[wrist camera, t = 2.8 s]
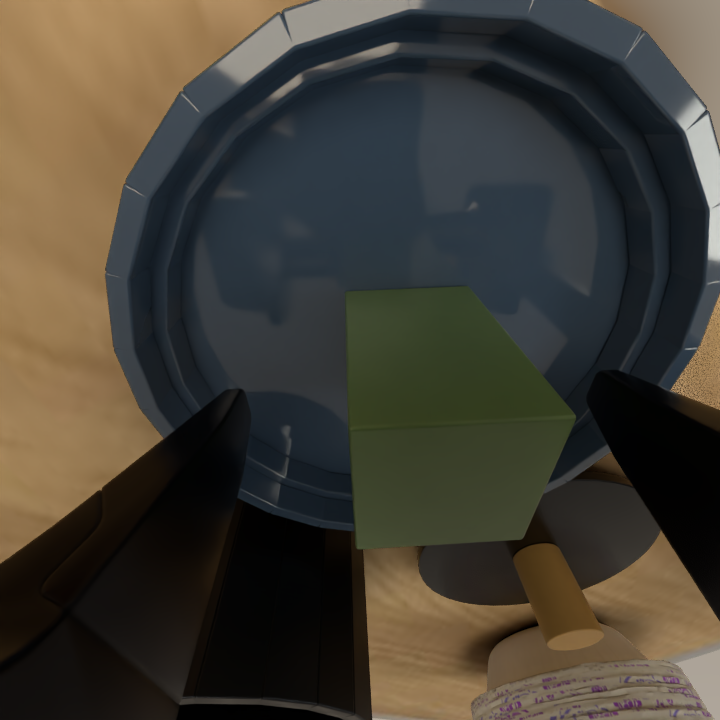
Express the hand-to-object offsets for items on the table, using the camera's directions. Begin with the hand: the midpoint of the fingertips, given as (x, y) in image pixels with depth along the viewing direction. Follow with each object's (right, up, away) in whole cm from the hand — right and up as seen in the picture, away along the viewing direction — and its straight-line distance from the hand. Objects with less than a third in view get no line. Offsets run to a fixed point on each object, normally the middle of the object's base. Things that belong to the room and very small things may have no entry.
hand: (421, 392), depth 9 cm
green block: (0, +1, +2) cm, 3 cm away
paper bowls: (+14, -22, +19) cm, 33 cm away
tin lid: (+7, -9, +9) cm, 15 cm away
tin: (-7, -9, +9) cm, 15 cm away
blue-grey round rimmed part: (0, +2, +3) cm, 3 cm away
